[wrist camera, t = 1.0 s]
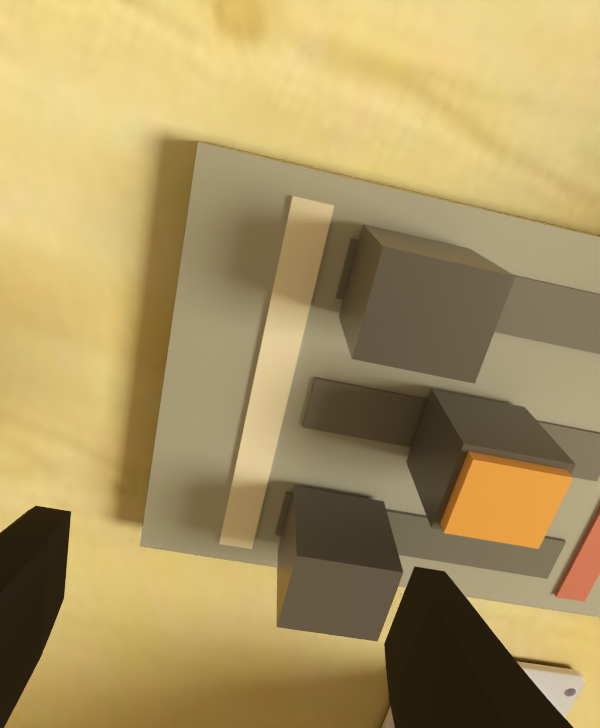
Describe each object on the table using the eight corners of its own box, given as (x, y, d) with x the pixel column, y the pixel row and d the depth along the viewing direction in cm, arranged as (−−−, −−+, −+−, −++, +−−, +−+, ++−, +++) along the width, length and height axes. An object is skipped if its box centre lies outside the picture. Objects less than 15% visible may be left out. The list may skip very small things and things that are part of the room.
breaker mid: (494, 477, 19) (542, 555, 15) (405, 462, 19) (434, 537, 15) (524, 406, 18) (583, 473, 14) (431, 388, 18) (468, 451, 14)
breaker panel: (621, 600, 23) (640, 626, 22) (147, 524, 21) (138, 549, 20) (805, 284, 18) (844, 295, 17) (203, 141, 16) (196, 142, 15)
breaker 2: (439, 337, 17) (474, 383, 14) (338, 316, 17) (351, 359, 13) (469, 248, 16) (515, 276, 13) (363, 224, 16) (383, 246, 12)
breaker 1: (362, 563, 20) (377, 641, 17) (277, 549, 20) (276, 626, 17) (383, 501, 19) (403, 572, 16) (294, 485, 19) (296, 555, 16)
